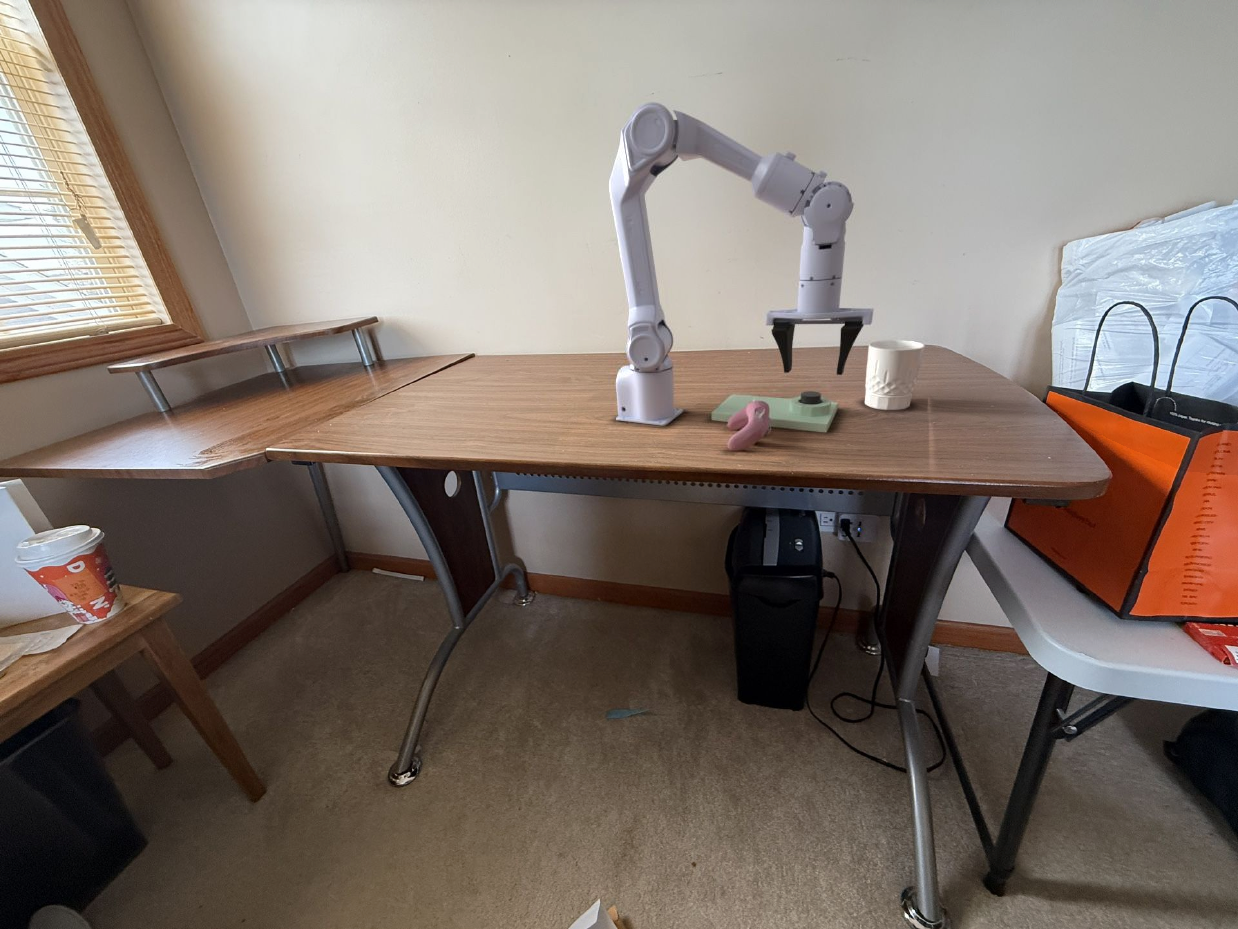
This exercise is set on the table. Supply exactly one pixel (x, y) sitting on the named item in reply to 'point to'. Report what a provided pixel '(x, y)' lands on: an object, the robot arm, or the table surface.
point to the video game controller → (749, 425)
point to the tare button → (810, 398)
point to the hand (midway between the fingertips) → (813, 372)
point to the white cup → (892, 373)
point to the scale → (783, 412)
